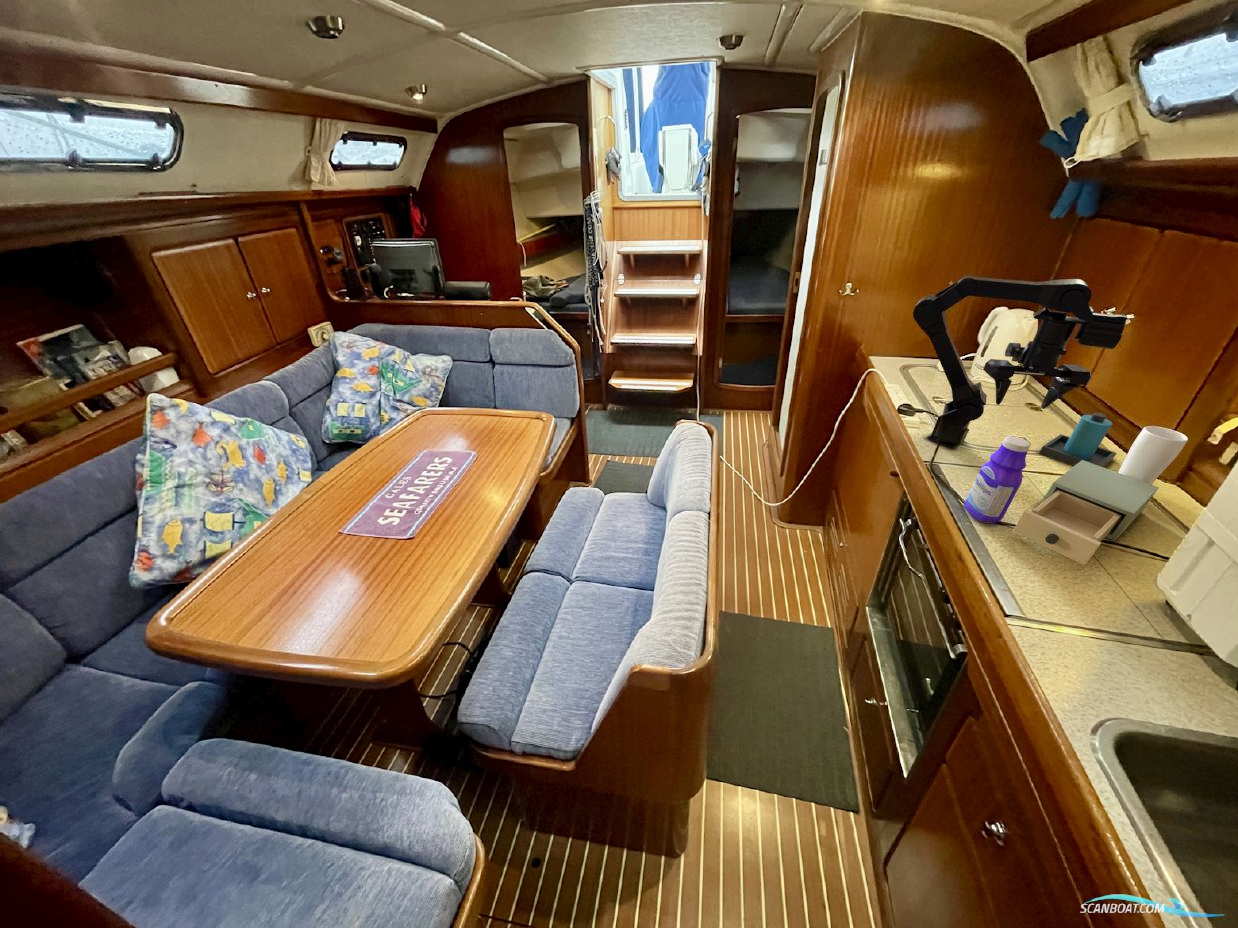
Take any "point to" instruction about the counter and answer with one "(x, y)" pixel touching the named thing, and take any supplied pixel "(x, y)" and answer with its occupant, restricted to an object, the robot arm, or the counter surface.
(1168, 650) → the counter surface
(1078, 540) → the drawer
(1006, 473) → the bottle
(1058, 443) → the tray
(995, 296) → the robot arm
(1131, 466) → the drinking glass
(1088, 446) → the soap bottle
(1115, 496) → the cabinet
